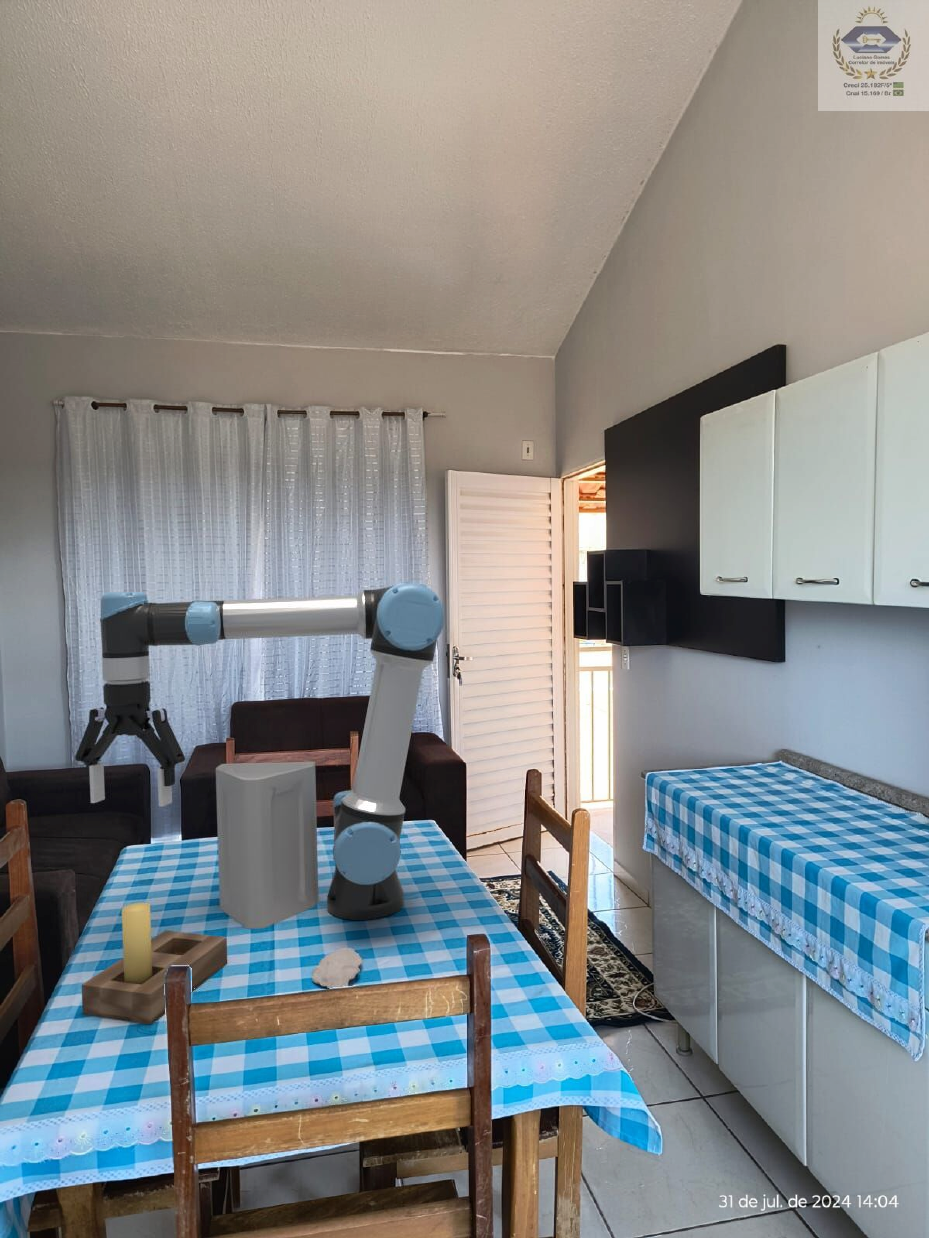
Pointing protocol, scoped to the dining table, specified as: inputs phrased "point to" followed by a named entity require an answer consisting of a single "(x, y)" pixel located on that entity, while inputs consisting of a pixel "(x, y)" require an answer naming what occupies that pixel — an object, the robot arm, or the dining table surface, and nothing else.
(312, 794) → the grey triangular prism
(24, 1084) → the dining table surface
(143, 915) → the dowel
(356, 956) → the stone tool
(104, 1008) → the socket board
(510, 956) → the dining table surface
